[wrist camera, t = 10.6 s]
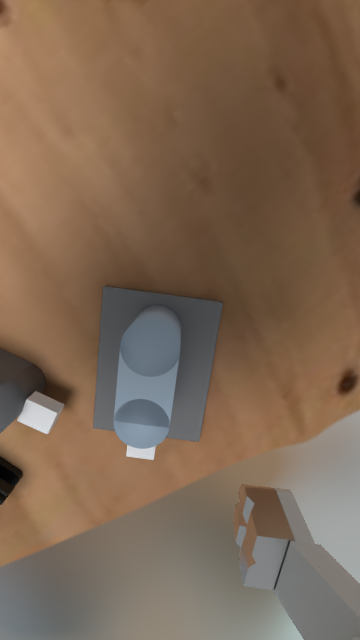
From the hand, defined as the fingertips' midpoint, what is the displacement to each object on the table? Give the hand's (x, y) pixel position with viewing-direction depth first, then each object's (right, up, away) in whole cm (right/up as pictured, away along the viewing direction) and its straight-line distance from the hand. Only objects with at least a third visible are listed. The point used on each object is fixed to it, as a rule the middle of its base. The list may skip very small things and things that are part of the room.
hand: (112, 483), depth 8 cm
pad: (0, +1, +13) cm, 13 cm away
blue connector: (0, +1, +13) cm, 13 cm away
